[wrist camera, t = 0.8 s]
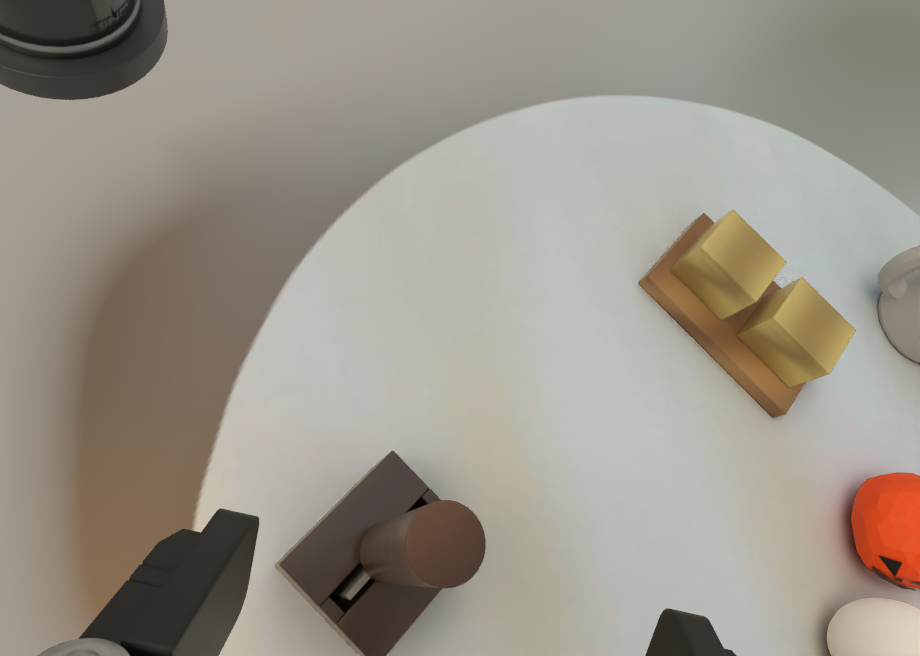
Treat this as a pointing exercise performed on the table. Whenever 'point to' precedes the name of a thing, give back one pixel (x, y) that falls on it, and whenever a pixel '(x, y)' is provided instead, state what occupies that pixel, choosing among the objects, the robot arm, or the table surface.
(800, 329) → the butter
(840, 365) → the table surface
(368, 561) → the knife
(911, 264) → the cup
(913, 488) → the pumpkin
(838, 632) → the egg
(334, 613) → the knife holder
